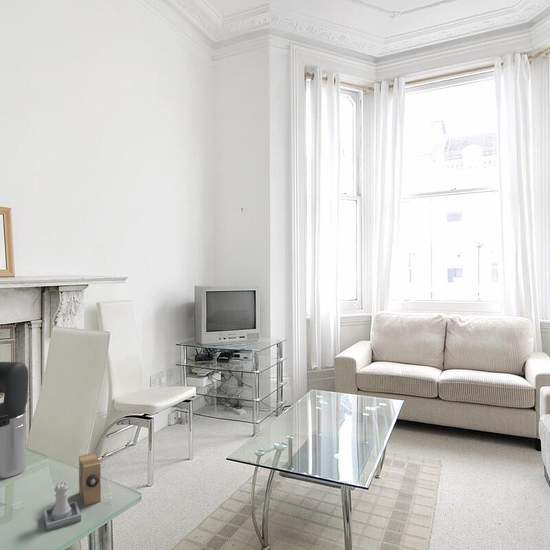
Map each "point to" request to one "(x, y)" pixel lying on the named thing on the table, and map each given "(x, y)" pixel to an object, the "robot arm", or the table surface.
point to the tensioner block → (89, 479)
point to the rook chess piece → (61, 502)
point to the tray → (62, 522)
